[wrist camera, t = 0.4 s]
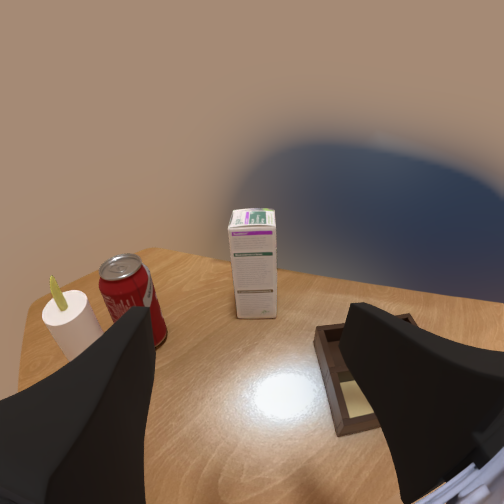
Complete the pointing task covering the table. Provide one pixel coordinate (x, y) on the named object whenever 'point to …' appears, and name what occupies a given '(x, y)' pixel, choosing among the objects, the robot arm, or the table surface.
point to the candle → (71, 320)
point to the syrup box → (254, 262)
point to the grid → (344, 382)
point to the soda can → (130, 290)
